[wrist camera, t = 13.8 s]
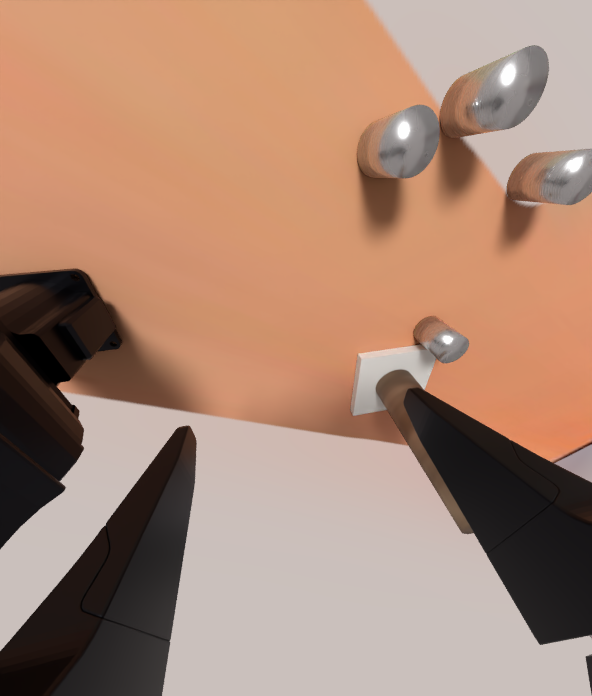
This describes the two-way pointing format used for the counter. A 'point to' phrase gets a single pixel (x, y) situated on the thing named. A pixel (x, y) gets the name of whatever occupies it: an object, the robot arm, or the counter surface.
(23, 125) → the counter surface
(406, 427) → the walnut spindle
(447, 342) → the spacer posts
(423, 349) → the rubber mat
